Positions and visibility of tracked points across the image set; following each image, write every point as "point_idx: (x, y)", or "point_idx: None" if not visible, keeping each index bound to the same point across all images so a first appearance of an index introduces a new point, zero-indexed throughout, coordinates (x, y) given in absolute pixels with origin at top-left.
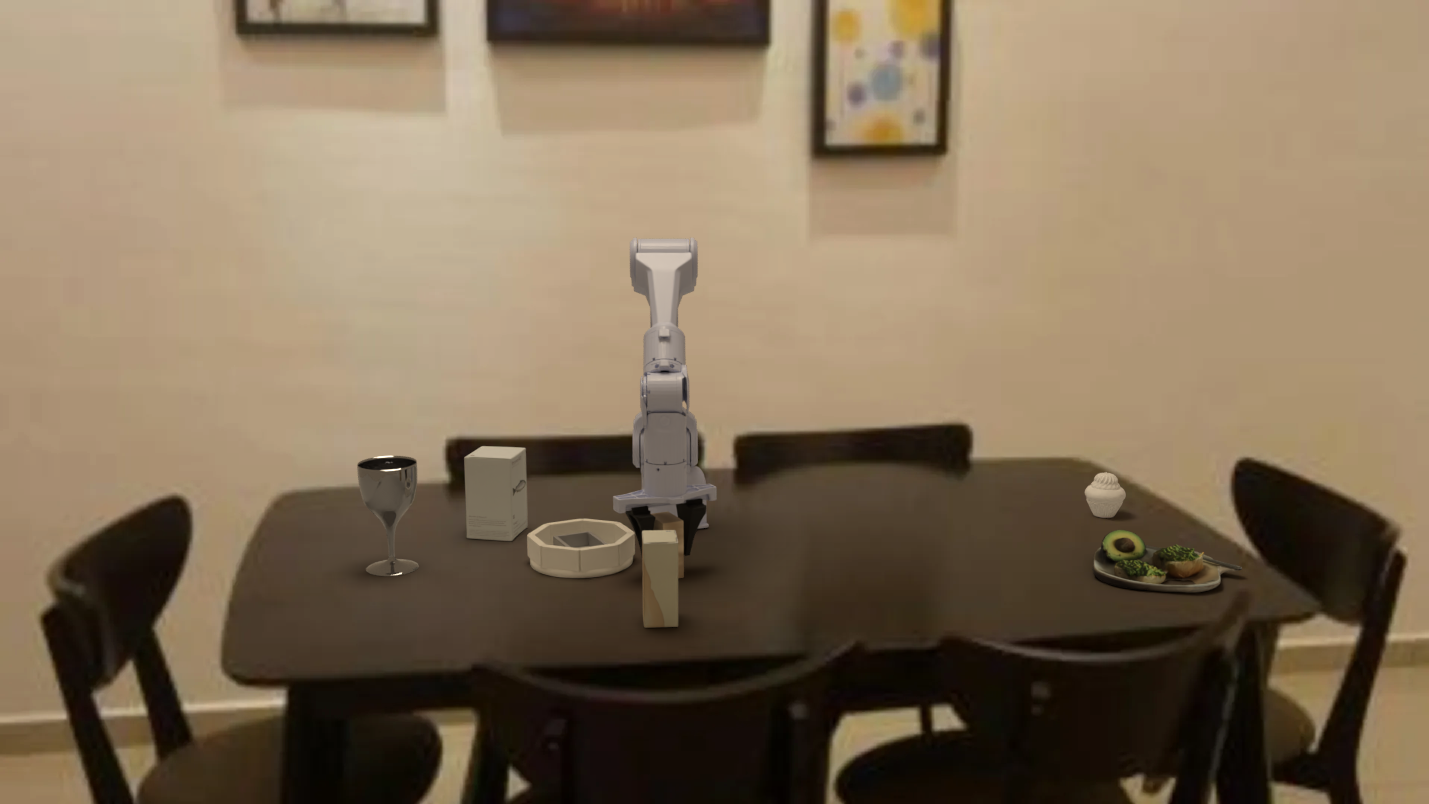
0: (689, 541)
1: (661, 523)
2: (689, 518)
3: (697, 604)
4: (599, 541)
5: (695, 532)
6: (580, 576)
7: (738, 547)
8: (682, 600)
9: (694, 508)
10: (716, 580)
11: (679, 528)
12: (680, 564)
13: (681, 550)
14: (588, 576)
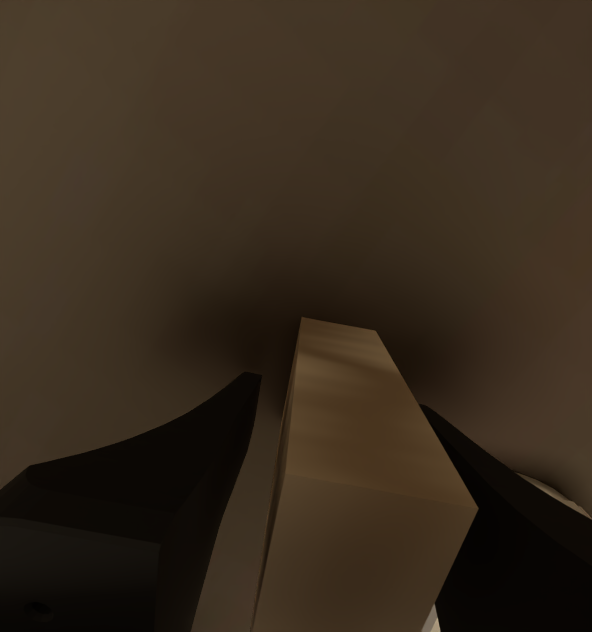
0: (237, 396)
1: (464, 526)
2: (204, 490)
3: (457, 13)
4: (431, 625)
5: (191, 411)
6: (557, 492)
7: (8, 433)
8: (468, 103)
9: (125, 550)
10: (225, 221)
11: (321, 437)
12: (313, 336)
13: (309, 359)
14: (536, 481)
